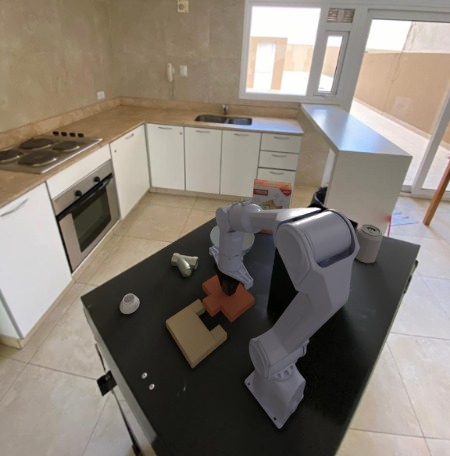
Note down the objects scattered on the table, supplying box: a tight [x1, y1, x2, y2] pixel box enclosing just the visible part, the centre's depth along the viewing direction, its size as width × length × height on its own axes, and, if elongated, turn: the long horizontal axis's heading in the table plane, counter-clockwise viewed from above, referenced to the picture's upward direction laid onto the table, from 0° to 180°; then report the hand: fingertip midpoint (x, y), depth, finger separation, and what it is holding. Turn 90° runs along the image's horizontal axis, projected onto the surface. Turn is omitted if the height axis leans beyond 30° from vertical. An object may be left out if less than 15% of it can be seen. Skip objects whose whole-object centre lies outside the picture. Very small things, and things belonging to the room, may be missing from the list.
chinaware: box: [209, 224, 255, 258], centre depth 87 cm, size 15×15×8 cm
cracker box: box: [251, 178, 293, 235], centre depth 98 cm, size 14×6×21 cm, turn 81°
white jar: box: [119, 293, 141, 315], centre depth 68 cm, size 5×3×5 cm
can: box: [355, 223, 384, 264], centre depth 87 cm, size 8×8×12 cm
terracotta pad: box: [201, 274, 256, 323], centre depth 65 cm, size 12×11×6 cm
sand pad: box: [165, 298, 228, 369], centre depth 62 cm, size 12×10×2 cm
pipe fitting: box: [170, 252, 199, 278], centre depth 80 cm, size 8×4×7 cm
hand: (228, 289), depth 66 cm, fingers closed on terracotta pad, 2 cm apart
